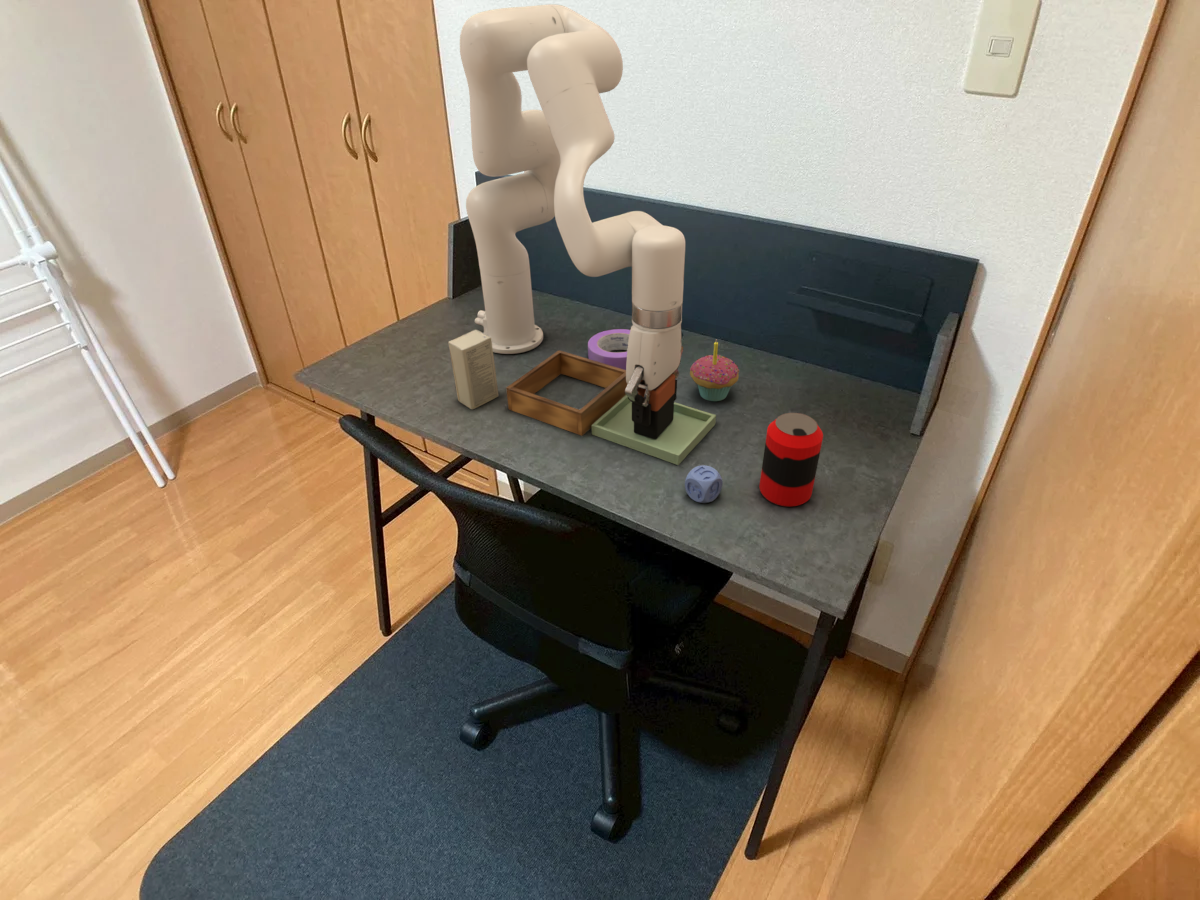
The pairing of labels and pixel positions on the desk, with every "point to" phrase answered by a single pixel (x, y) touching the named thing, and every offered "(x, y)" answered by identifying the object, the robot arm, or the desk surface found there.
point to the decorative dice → (703, 484)
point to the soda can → (790, 459)
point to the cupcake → (714, 375)
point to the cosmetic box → (474, 368)
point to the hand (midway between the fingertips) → (654, 410)
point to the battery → (658, 408)
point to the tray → (671, 441)
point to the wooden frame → (560, 414)
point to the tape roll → (609, 347)
